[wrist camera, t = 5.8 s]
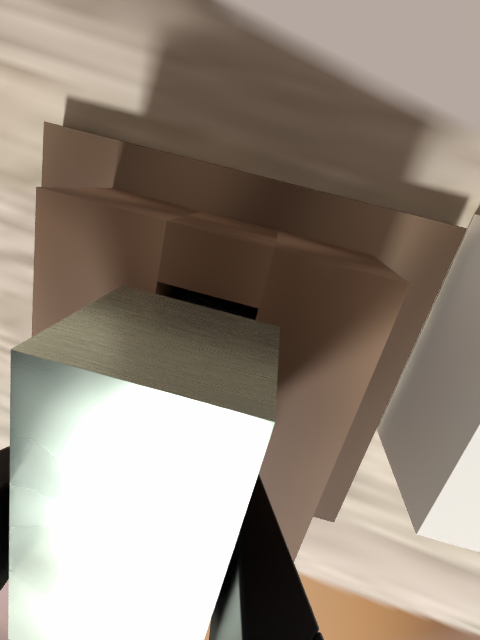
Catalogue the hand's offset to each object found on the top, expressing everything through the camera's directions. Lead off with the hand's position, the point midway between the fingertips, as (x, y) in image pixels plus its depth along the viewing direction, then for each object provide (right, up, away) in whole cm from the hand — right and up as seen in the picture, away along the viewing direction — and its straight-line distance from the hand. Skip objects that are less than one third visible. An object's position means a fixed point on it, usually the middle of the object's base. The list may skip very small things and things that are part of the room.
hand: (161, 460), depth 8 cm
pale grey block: (+1, +2, +4) cm, 4 cm away
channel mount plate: (+1, +2, +7) cm, 7 cm away
